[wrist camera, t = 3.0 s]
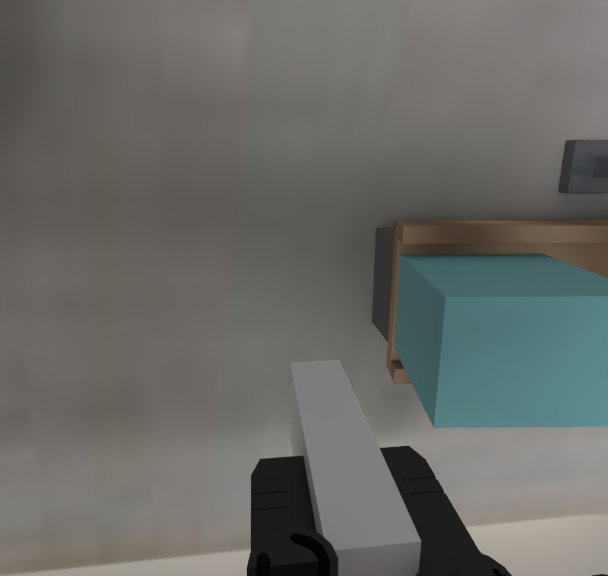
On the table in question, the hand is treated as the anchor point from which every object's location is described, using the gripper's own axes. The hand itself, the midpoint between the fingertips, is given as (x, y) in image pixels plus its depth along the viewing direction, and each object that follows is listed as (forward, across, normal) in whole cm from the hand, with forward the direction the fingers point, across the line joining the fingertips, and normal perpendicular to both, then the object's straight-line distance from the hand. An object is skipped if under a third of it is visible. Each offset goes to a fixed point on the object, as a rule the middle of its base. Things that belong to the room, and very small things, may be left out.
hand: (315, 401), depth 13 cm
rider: (+8, +9, 0) cm, 12 cm away
